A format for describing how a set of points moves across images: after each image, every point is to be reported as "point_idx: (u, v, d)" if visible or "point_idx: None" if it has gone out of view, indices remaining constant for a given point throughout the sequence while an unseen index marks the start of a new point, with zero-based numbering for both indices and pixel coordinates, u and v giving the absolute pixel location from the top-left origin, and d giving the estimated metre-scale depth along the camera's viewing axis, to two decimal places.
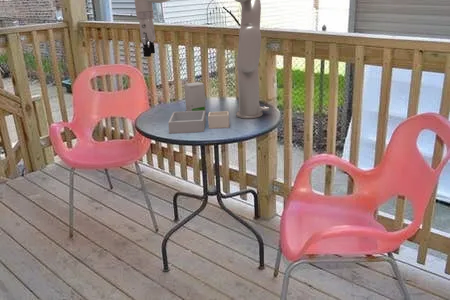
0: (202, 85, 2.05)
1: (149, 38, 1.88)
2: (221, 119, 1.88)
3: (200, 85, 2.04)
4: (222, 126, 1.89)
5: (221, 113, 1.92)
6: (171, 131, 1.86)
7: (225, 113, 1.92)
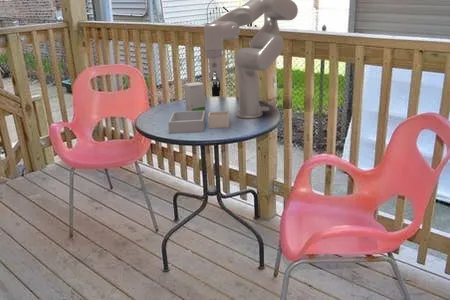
0: (202, 85, 2.05)
1: (219, 77, 1.79)
2: (221, 119, 1.88)
3: (200, 85, 2.04)
4: (222, 126, 1.89)
5: (221, 113, 1.92)
6: (171, 131, 1.86)
7: (225, 113, 1.92)
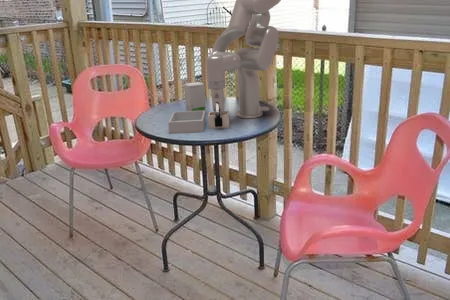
0: (202, 85, 2.05)
1: (221, 108, 1.84)
2: None
3: (200, 85, 2.04)
4: (222, 126, 1.89)
5: (221, 113, 1.92)
6: (171, 131, 1.86)
7: (225, 113, 1.92)
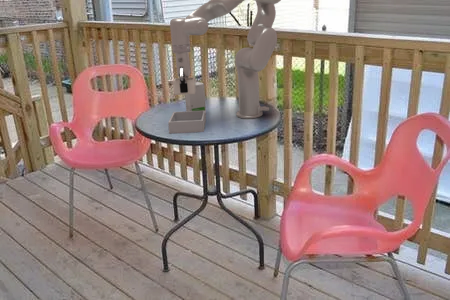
0: (202, 85, 2.05)
1: (186, 72, 1.80)
2: None
3: (200, 85, 2.04)
4: (187, 92, 1.85)
5: (187, 79, 1.88)
6: (171, 131, 1.86)
7: (191, 79, 1.88)
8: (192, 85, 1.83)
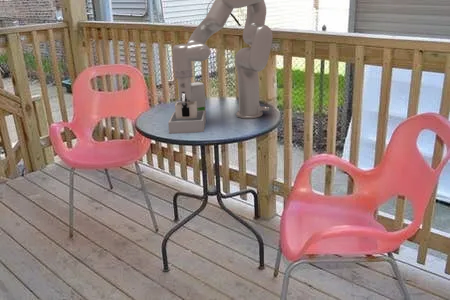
0: (202, 85, 2.05)
1: (188, 97, 1.83)
2: None
3: (200, 85, 2.04)
4: (189, 116, 1.88)
5: (189, 103, 1.92)
6: (171, 131, 1.86)
7: (193, 103, 1.92)
8: (194, 109, 1.87)
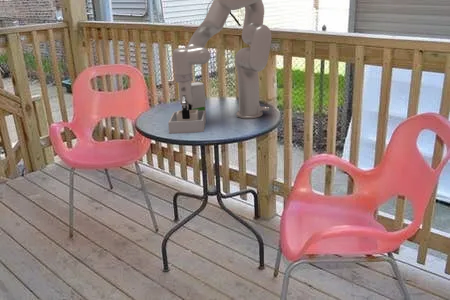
0: (202, 85, 2.05)
1: (188, 101, 1.84)
2: None
3: (200, 85, 2.04)
4: None
5: (190, 111, 1.93)
6: (171, 131, 1.86)
7: (194, 111, 1.93)
8: (195, 118, 1.89)
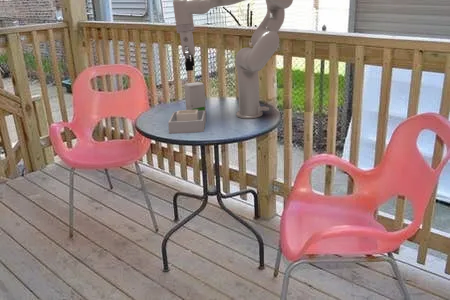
0: (202, 85, 2.05)
1: (191, 51, 1.81)
2: (189, 118, 1.89)
3: (200, 85, 2.04)
4: None
5: (190, 111, 1.93)
6: (171, 131, 1.86)
7: (194, 111, 1.93)
8: (195, 118, 1.89)
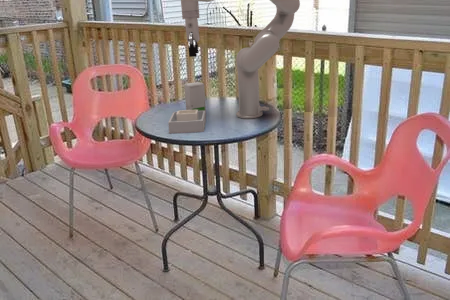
0: (202, 85, 2.05)
1: (195, 38, 1.85)
2: (189, 118, 1.89)
3: (200, 85, 2.04)
4: None
5: (190, 111, 1.93)
6: (171, 131, 1.86)
7: (194, 111, 1.93)
8: (195, 118, 1.89)
